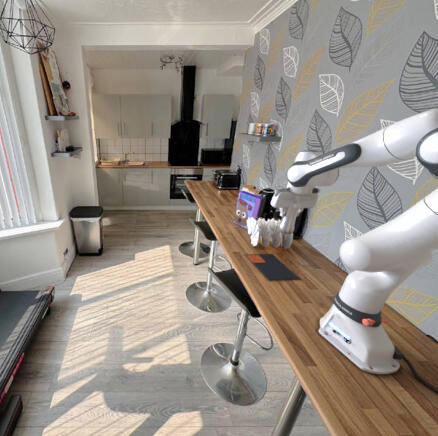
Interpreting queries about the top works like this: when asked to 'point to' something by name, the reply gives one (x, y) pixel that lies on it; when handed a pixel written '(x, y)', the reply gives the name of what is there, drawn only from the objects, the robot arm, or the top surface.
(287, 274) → the mat
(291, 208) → the plastic bottle
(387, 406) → the top surface
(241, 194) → the cereal box
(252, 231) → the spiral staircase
